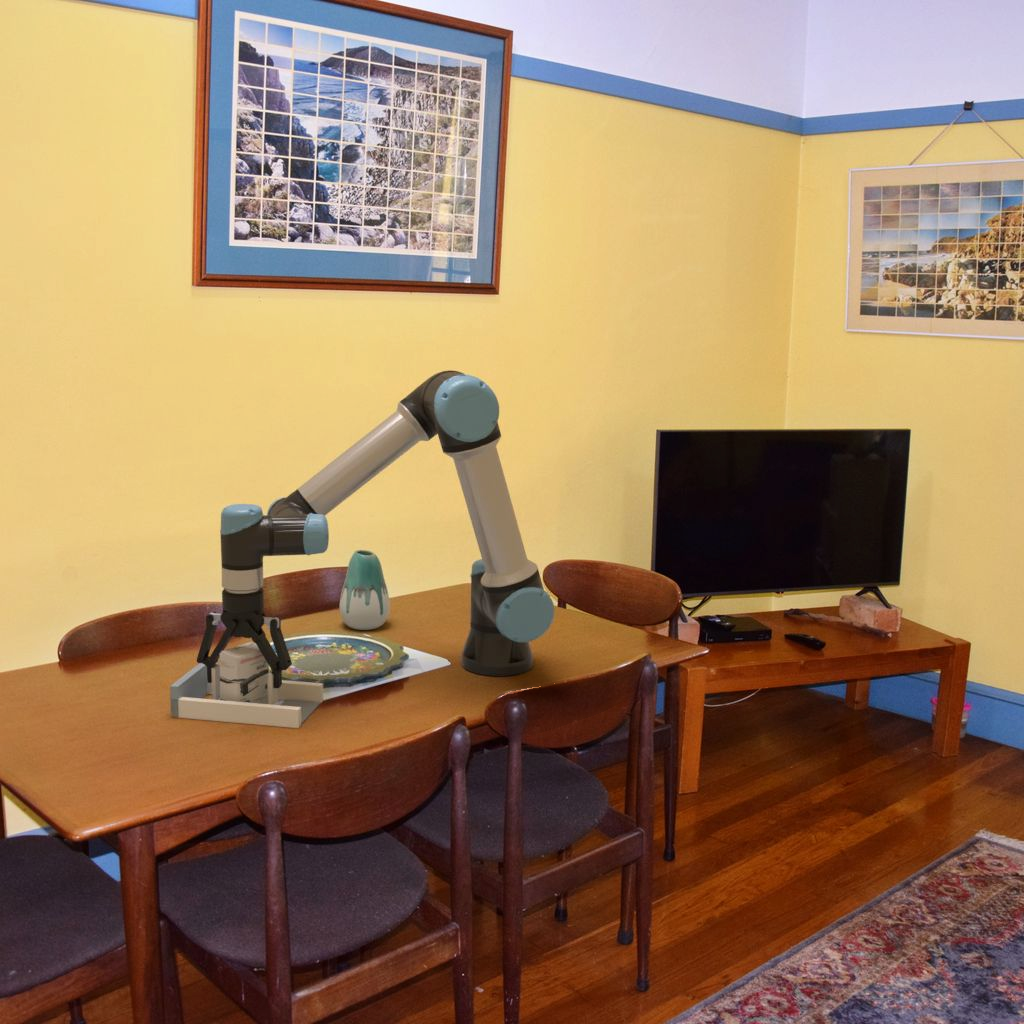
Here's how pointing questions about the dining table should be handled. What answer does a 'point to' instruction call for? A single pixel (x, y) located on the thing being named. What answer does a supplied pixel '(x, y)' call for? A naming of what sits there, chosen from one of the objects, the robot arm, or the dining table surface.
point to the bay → (196, 687)
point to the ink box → (244, 674)
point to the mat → (302, 707)
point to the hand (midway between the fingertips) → (244, 701)
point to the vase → (364, 593)
